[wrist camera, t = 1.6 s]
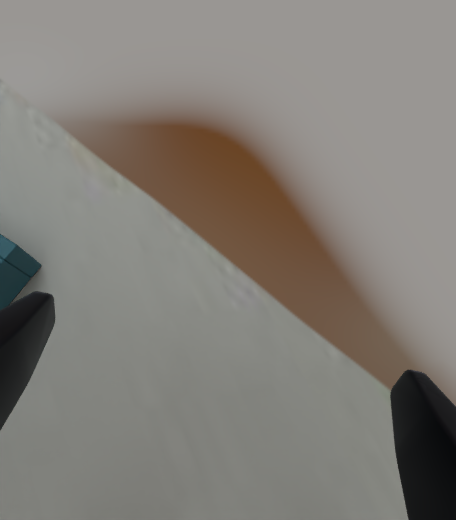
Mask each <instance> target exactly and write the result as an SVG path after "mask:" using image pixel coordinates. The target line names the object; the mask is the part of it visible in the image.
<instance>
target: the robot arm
mask: <svg viewBox="0 0 456 520" xmlns="http://www.w3.org/2000/svg"><path fill="white" fill-rule="evenodd" d="M54 323H55V308H54V298H53V296H52V295H51V294H48V293H43V292H38V291H35V292H32V293H30V294H28V295H27V296H25V297H23V298H21V299H19V300H18V301H16V302H14V303H12V304H10V305H8V306H7V307H5V308H3V309H1V310H0V430H1V428H2V427H3V425H4V423H5V422H6V420H7V418H8V417H9V415H10V413H11V412H12V410H13V408H14V407H15V405H16V403H17V401H18V400H19V398H20V396H21V395H22V393H23V391H24V389H25V388H26V386H27V384H28V382H29V380H30V378H31V376H32V374H33V372H34V369H35V367H36V365H37V363H38V360H39V358H40V356H41V354H42V351H43V349H44V347H45V345H46V343H47V340H48V338H49V336H50V334H51V331H52V329H53V327H54ZM390 398H391V409H392V420H393V431H394V442H395V451H396V458H397V464H398V469H399V474H400V479H401V484H402V489H403V494H404V499H405V504H406V509H407V514H408V519H409V520H456V406H455V405H454V404H453V403H452V402H451V401H450V400H449V399H448V398H447V397H446V396H445V394H444V393H443V392H442V391H441V390H440V389H439V388H438V387H437V386H436V385H435V384H434V383H433V382H432V381H431V380H430V378H429V377H428V376H427V375H426V374H424V373H422V372H419V371H414V370H407V371H405V372H404V373H403V374H402V376H401V377H400V378H399V380H398V381H397V382H396V384H395V385H394V386H393V388H392V390H391V395H390Z"/></svg>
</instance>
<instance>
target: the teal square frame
mask: <svg viewBox="0 0 456 520" xmlns="http://www.w3.org/2000/svg"><path fill="white" fill-rule="evenodd" d="M40 267H41V264H40V263H39V262H37V261H36V260H35V259H34V258H32V257H31V256H30V255H29V254H27V253H26V252H25V251H24V250H23V249H21V248H20V247H19V246H18V245H16V244H15V243H13V242H12V241H10V240H9V239H7V238H5V237H4V236H2V235H1V234H0V310H1V309H3V308H5V307H7V306H8V305H9V304H10V303H11V302H12V300H13V299H14V298H15V297H16V296H17V294H18V293H19V292H20V291H21V289H22V288H23V287H24V286H25V285H26V283H27V282H28V281H29V280H30V277H32V276H33V275H34V274H35V273H36V272H37V270H38V269H39V268H40Z"/></svg>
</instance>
